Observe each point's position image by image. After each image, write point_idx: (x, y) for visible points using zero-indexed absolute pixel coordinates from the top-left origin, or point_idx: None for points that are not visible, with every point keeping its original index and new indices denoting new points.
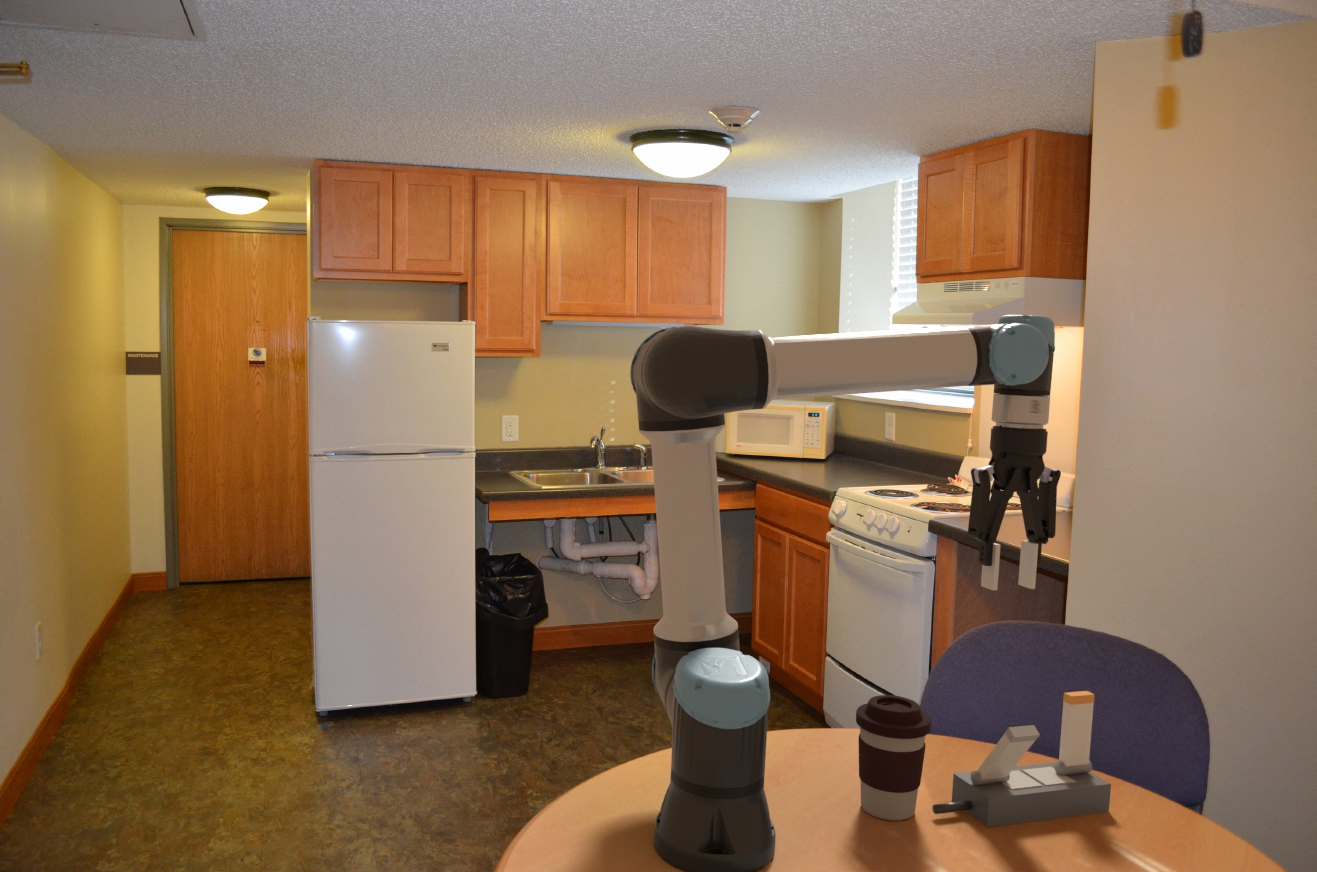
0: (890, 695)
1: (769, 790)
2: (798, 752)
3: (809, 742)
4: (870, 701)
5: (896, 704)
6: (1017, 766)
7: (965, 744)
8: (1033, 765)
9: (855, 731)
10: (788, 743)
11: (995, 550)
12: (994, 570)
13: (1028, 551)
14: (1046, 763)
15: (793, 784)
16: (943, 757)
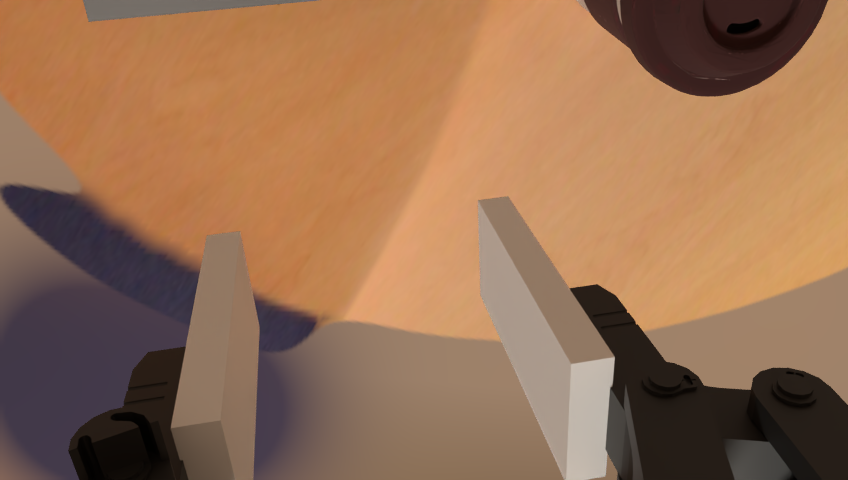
0: (722, 63)
1: (795, 76)
2: (644, 239)
3: (597, 283)
4: (810, 19)
5: (723, 19)
6: (269, 4)
7: (254, 258)
8: (220, 2)
9: (473, 330)
10: (640, 280)
11: (596, 330)
12: (543, 252)
13: (235, 416)
14: (173, 12)
15: (736, 98)
16: (345, 195)
